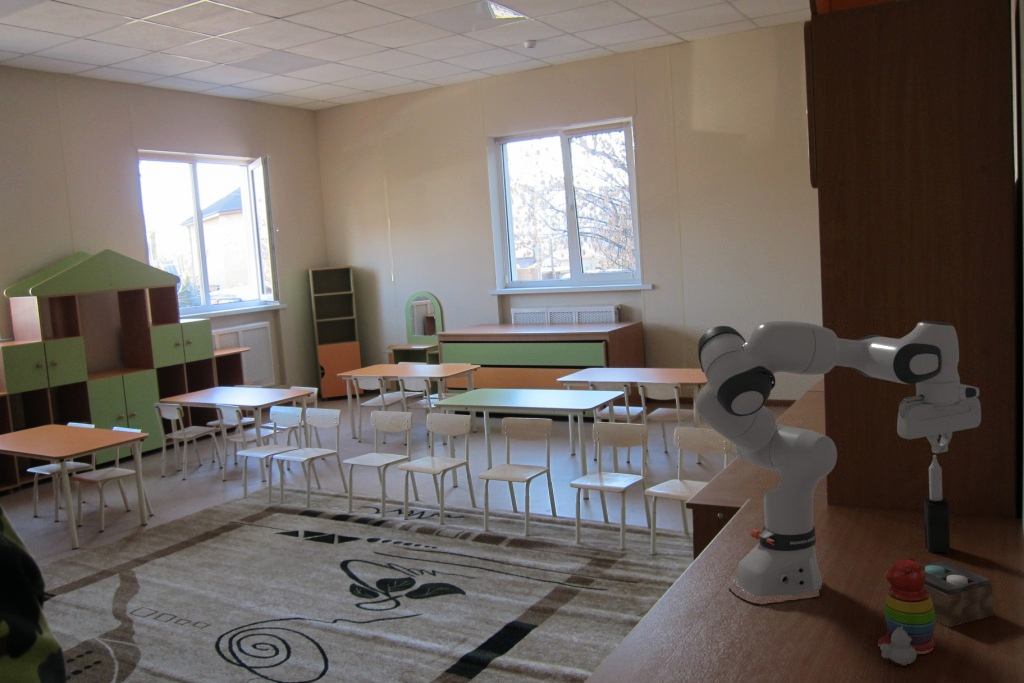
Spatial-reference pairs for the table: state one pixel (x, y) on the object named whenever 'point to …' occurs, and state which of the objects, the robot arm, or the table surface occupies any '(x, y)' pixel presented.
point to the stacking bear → (909, 605)
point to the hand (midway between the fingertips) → (939, 452)
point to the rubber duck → (899, 647)
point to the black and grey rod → (936, 513)
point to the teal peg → (934, 570)
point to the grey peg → (957, 579)
